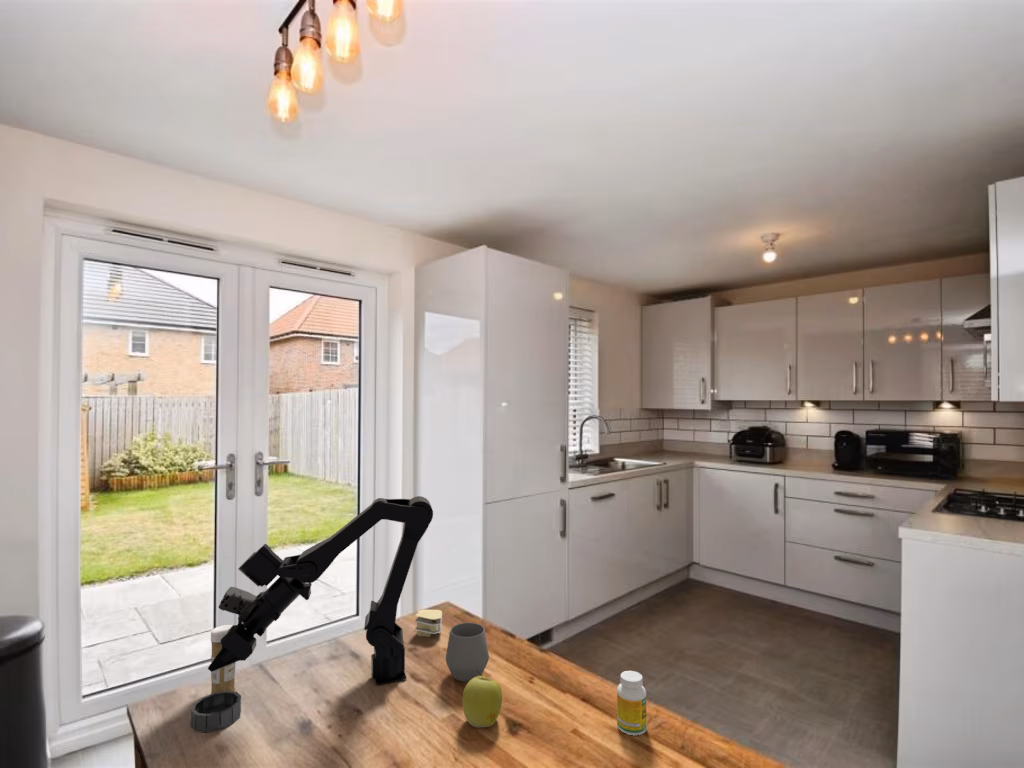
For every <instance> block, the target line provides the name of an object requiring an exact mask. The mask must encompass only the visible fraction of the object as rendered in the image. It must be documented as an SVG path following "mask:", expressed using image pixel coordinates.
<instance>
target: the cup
mask: <svg viewBox="0 0 1024 768" xmlns="http://www.w3.org/2000/svg"><path fill="white" fill-rule="evenodd" d="M487 643H488V642H487V635H486V629H485V627H484V626H483V625H482V624H480V623H476V622H461V623H458V624H455V625H453V626H452V627H451V628H450V630H449V633H448V640H447V647H446V652H445V662H446V666H447V668H448V670H449V671H450V673H451V676H452V677H453V679H455V680H456V681H459V682H464V683H465V682H466V683H468V682H469V681H470V680H471V679H472V678H474V677H477V676H483V672H484V671H485V669H486V667H487V665H488V663H489V660H490V654H489V648H488V644H487ZM477 671H478V672H479V673H480V674H481V675H480V674H479V673H478V672H477Z"/></svg>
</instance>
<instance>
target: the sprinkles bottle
mask: <svg viewBox="0 0 1024 768" xmlns="http://www.w3.org/2000/svg"><path fill="white" fill-rule="evenodd" d="M232 626H233V624H224V625H223V624H222V625H220V626H217V627H214V628H212V629H211V631H210V641H211V655H210V664H211V663H212V661H213V660H214V658H215V657H216V656H217V654H218V653H219V651H220V650H221V649H222V645H221V639H222V637H223V636H224V634H225V633H226V632H227V631H228V630H229V629H230V628H231V627H232ZM235 676H236V662H234V663H231V664H229V665H227V666H224V667H222V668H219V669H217V670H215V671H212V672H211V671H210V682H211V687H210V688H211V691H210V692H211V693H210V694H212V693H213V694H214V693H216V692H222V691H234V692H236V687H235V683H236V682H235V681H236V680H235Z"/></svg>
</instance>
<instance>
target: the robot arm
mask: <svg viewBox="0 0 1024 768" xmlns="http://www.w3.org/2000/svg"><path fill="white" fill-rule="evenodd" d="M433 517H434V511H433V507H432V505H431V503H430V501H429V500H428V499H427V498H426V497H424V496H421V495H420V496H419V495H418V496H414V497H412V498H392V499H391V498H384V497H379V498H376V499H375V500H373V502H372V503H371V504H370V505H369V506H368V507H366V508H365V509H364V510H362V512H360V513H359V514H358V515H357V516H355V517H353V519H351V520H350V521H349V522H348V523H346V524H345V525H343V526H342V527H341V528H340V529H339V530H337V531H336V532H335V533H333V534H332V535H331V536H330V537H328V538H326V539H324V540H322V541H320V542H318V543H316V544H314V545H312V546H310V547H309V548H306V549H305V550H303V551H302V553H300V554H296V555H291V556H290V555H289V556H285V557H284V558H283V559H282V558H281V557H280V556H279V555H278V554H276V552H274V551H273V550H272V548H271V547H270V546H269V545H268V544H267V543H264V544H263V545H262V546H261V547H260V548H258V549H257V551H254V552H253V553H251V555H250V556H249V557H248V558H247V559H246V560H245V561H244V562H243V563H242V564H241V565H240V566H239V567H238V569H237V570H238V571H239V572H241V574H243V575H244V576H246V578H248V579H249V580H250V581H251V582H252V583H253V584H254V585H255V586H257V588H258V587H262V588H263V587H265V586H266V587H267V586H268V585H269V584H271V583H272V581H273V580H274V579H276V580H275V581H274V582H273V583H272V584H271V585H269V587H268V588H267V589H265V590H263V591H261V592H259V593H258V594H257V595H255V594H253V593H251V592H249V591H246V590H243V589H241V588H238V587H236V586H230V587H229V588H228V589H227V590H226V591H225V593H224V595H223V597H222V599H221V600H220V602H219V605H218V609H220V610H221V611H226V612H228V613H230V614H231V613H232V614H235V615H237V616H238V617H237V621H238V622H237V624H234V625H233V624H232V625H233V626H232V627H231V628H230V629H229V630H228V631H227V632H226V633H225V634H224V636H223V637H222V639H221V645H222V649H221V650H220V651H219V653H218V654H217V656H216V657H215V658H214V660H213V661H212V663H211V662H210V664H209V666H208V667H207V670H209V672H210V673H211V672H212V671H215V670H217V669H219V668H222V667H224V666H227V665H229V664H231V663H234V662H235V663H236V662H239V661H241V662H242V661H247V659H248V658H249V657H250V656H251V655H252V654H253V652H254V650H255V649H256V647H257V638H256V637H255V635H256V634H257V636H258V637H260V638H261V637H262V636H263V635H264V634H265V632H266V630H267V629H268V627H270V625H272V624H273V622H277V620H278V619H280V617H281V615H282V614H283V613H284V611H285V610H287V608H289V606H290V605H291V604H292V603H293V602H295V600H296V599H298V597H299V596H301V597H302V598H303V599H304V600H306V601H308V600H309V599H310V597H311V595H312V583H315V582H316V581H317V580H318V579H319V578H320V577H322V576H323V574H324V573H325V571H326V570H328V568H329V567H330V566H331V564H332V563H333V562H334V560H336V558H338V556H339V555H340V554H341V553H342V552H343V551H345V550H346V549H347V548H348V547H350V545H352V544H353V543H354V542H356V541H357V540H358V539H360V537H361V536H363V535H364V534H366V532H368V531H369V530H370V529H372V528H373V527H374V526H376V525H377V524H378V523H379V522H380V521H382V520H387V521H392V522H396V523H403V525H402V533H401V537H400V540H399V544H398V547H397V549H396V552H395V555H394V558H393V561H392V564H391V567H390V570H389V573H388V576H387V580H386V581H385V586H384V587H383V592H382V594H381V595H380V598H379V599H378V601H374V600H371V601H370V606H369V610H368V613H367V614H366V616H365V620H364V625H363V626H364V627H363V628H364V629H363V630H364V631H366V632H365V639H366V641H367V642H368V644H369V645H370V646H371V647H373V654H371V656H370V659H371V660H370V662H371V663H370V664H371V665H370V670H371V672H370V674H371V677H372V679H373V680H374V683H375V685H377V686H379V685H380V686H381V685H385V684H391V683H396V682H401V681H405V680H407V674H406V672H405V671H406V666H405V664H406V659H405V658H406V655H405V654H406V652H405V651H406V649H405V648H406V647H405V645H404V632H403V628H402V627H401V626H400V625H399V624H397V622H396V619H397V613H398V612H397V611H398V605H399V602H400V598H401V596H402V593H403V589H404V586H405V584H406V580H407V578H408V574H409V571H410V568H411V565H412V563H413V559H414V556H415V554H416V550H417V548H418V544H419V542H420V541H421V539H422V538H423V536H424V535H425V533H426V532H427V530H428V528H429V526H430V524H431V522H432V520H433ZM277 576H278V578H276V577H277Z"/></svg>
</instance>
